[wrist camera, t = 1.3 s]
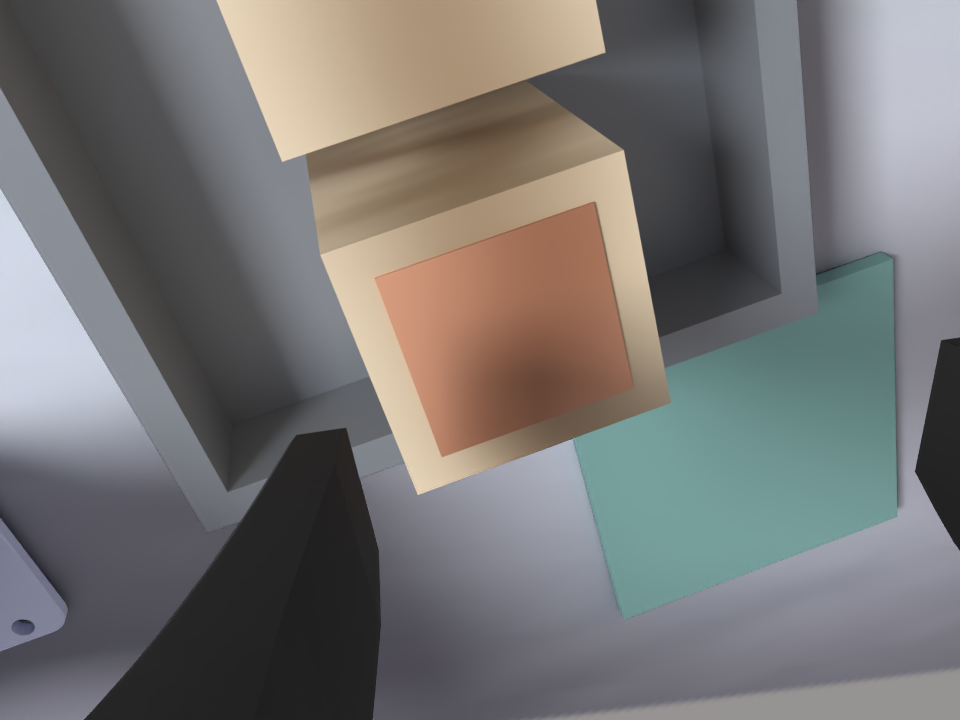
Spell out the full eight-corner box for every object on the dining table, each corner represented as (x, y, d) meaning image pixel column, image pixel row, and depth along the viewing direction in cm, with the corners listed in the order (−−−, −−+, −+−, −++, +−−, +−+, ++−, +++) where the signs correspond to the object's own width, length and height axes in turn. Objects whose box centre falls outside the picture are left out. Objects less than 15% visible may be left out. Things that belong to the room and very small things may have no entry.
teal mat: (618, 607, 26) (623, 619, 26) (554, 368, 21) (559, 378, 21) (887, 506, 26) (897, 516, 26) (881, 252, 22) (893, 259, 21)
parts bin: (214, 453, 20) (207, 533, 18) (-164, -228, 13) (-267, -258, 11) (751, 262, 21) (818, 313, 19) (667, -481, 14) (758, -566, 11)
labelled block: (378, 337, 19) (418, 496, 14) (304, 147, 17) (320, 256, 12) (566, 270, 20) (672, 404, 15) (518, 75, 17) (624, 151, 12)
